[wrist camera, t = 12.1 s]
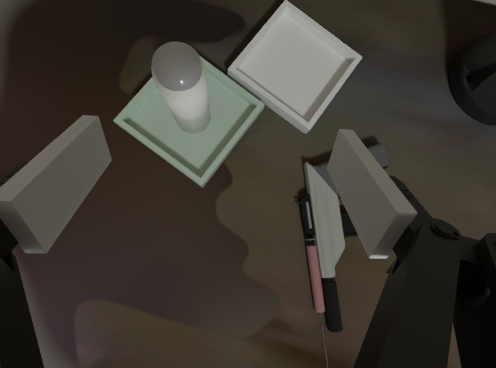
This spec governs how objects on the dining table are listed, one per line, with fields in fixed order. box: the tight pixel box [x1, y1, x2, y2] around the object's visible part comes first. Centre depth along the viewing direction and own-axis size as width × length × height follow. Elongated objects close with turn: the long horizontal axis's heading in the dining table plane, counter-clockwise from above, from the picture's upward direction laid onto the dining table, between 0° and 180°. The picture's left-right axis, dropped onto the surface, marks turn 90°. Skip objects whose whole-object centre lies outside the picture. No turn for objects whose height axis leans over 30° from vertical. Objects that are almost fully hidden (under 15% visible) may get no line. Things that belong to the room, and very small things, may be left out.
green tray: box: [114, 57, 265, 188], centre depth 37 cm, size 15×15×2 cm
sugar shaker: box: [152, 42, 211, 134], centre depth 31 cm, size 5×5×13 cm
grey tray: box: [228, 0, 362, 134], centre depth 39 cm, size 15×15×2 cm
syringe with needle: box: [296, 144, 388, 366], centre depth 37 cm, size 31×2×15 cm
